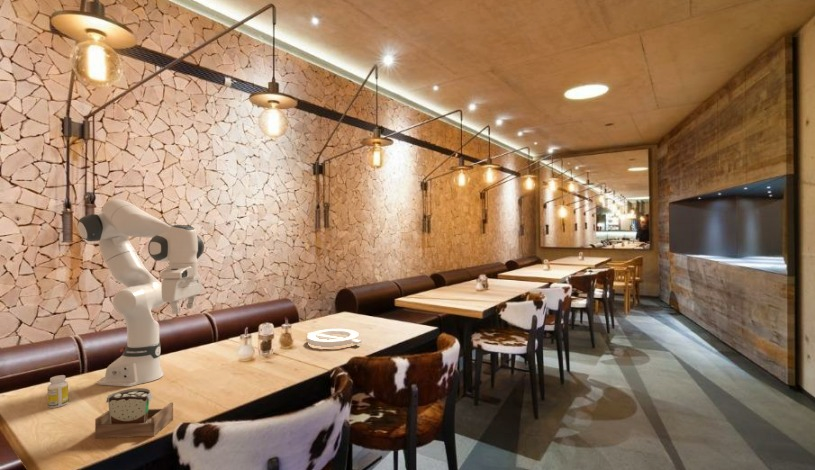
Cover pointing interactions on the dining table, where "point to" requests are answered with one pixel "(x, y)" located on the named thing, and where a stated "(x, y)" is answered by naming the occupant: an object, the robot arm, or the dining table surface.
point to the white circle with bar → (332, 337)
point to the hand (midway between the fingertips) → (183, 310)
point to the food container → (129, 406)
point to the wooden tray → (134, 424)
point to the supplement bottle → (57, 392)
